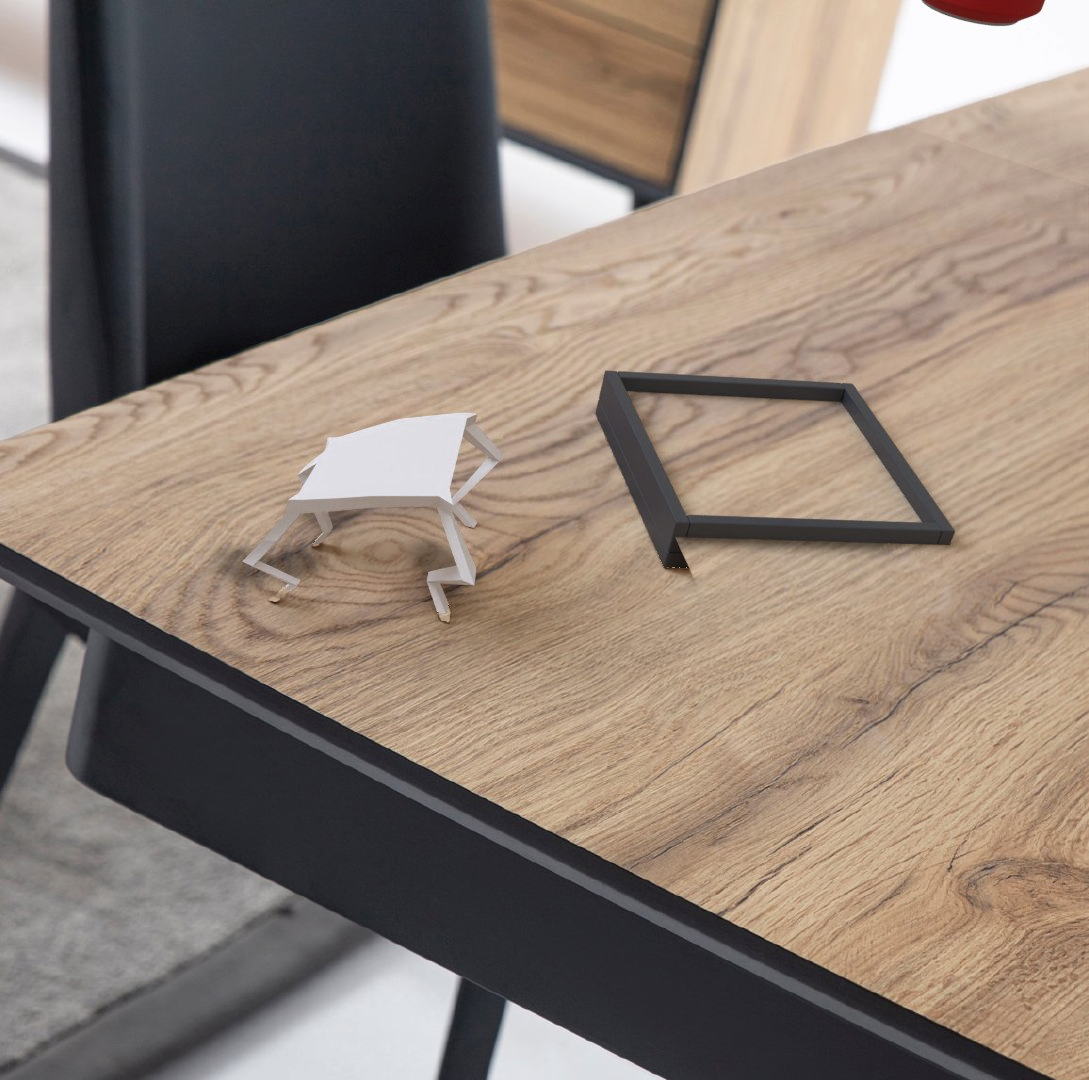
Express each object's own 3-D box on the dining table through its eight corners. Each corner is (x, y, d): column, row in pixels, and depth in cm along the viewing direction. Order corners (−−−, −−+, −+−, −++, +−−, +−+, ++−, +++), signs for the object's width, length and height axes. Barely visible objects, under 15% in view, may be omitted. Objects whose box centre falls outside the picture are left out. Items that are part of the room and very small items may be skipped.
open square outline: (838, 425, 78) (852, 382, 77) (938, 576, 69) (956, 530, 67) (594, 413, 75) (604, 369, 74) (663, 568, 66) (676, 521, 65)
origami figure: (431, 680, 58) (452, 568, 55) (227, 598, 60) (236, 486, 57) (551, 526, 67) (574, 423, 64) (370, 460, 69) (384, 357, 66)
